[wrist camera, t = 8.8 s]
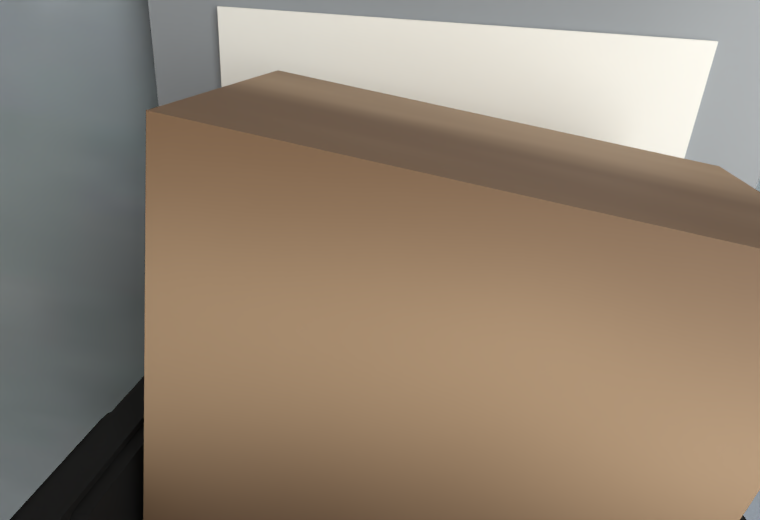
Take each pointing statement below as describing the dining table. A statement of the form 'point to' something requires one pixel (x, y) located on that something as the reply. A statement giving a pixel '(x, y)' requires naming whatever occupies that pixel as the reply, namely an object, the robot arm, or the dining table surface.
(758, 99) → the baseplate
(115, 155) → the dining table surface
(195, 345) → the walnut slab
